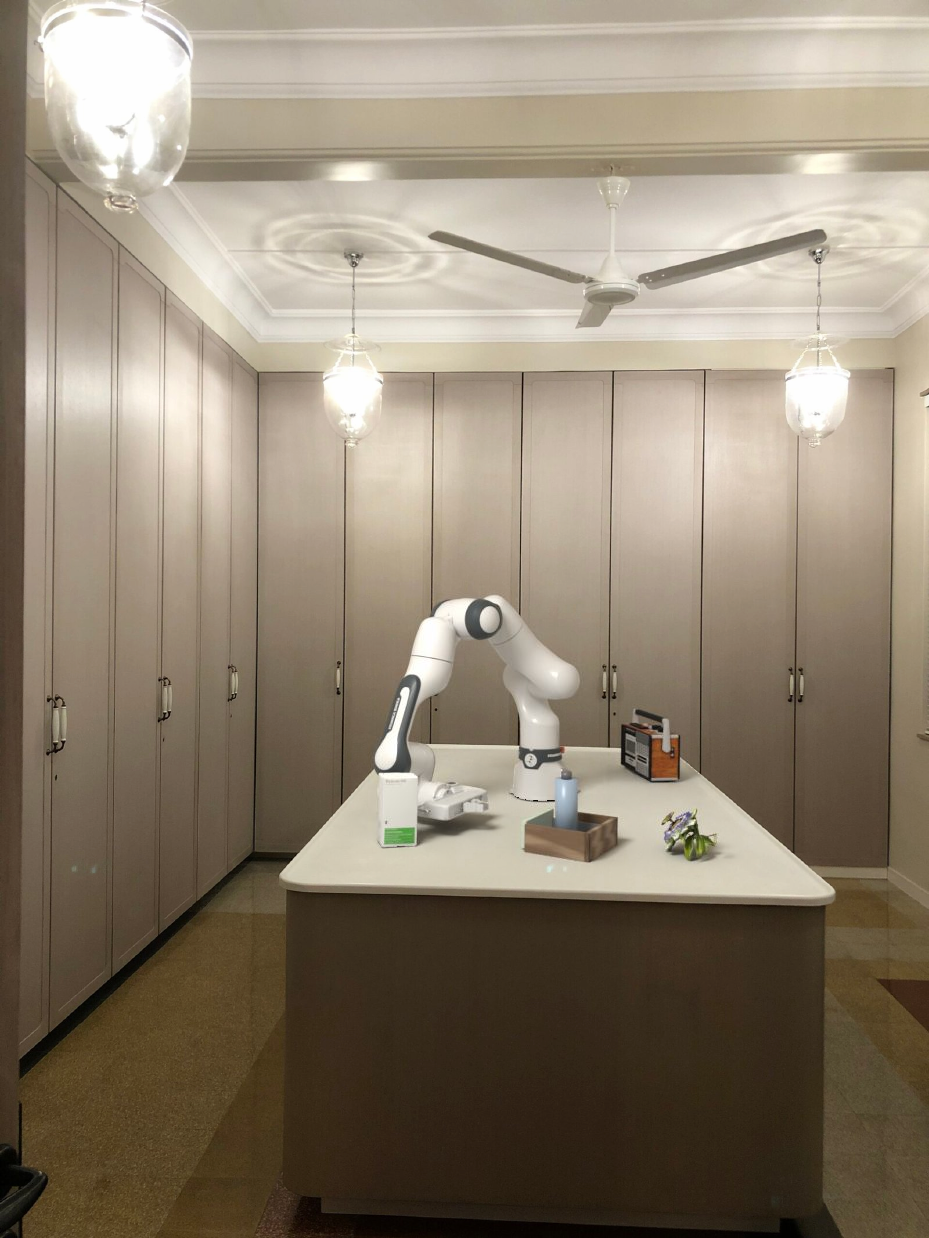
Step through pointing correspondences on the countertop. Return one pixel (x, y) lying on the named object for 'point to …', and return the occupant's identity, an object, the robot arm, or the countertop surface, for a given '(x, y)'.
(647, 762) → the radio cassette player
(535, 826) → the brown open box
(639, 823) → the countertop surface
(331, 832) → the countertop surface
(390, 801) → the skincare box
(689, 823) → the passion flower
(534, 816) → the drawer
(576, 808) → the lotion bottle
